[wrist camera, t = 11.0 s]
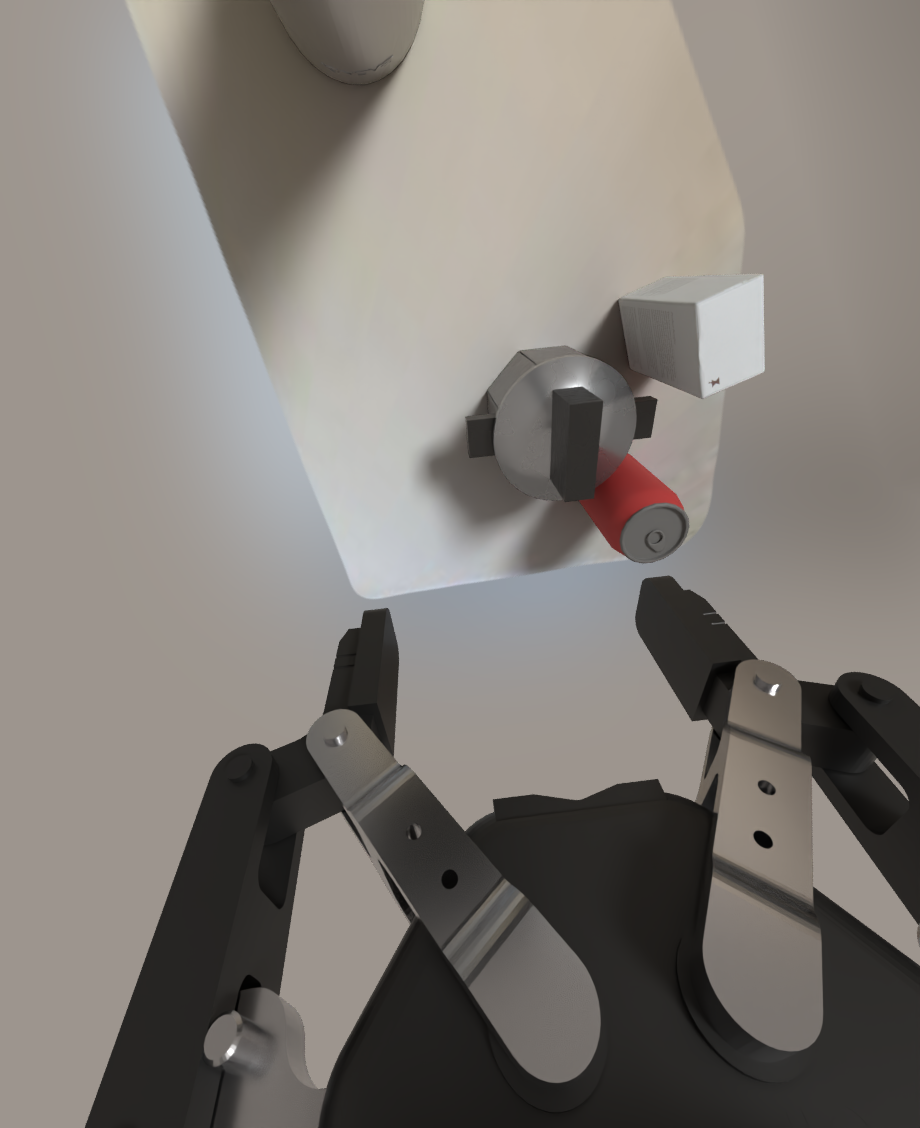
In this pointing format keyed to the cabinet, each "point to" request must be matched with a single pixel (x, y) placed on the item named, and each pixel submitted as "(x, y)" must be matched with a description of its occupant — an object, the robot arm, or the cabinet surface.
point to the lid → (564, 428)
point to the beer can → (638, 513)
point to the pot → (522, 361)
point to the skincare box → (696, 331)
